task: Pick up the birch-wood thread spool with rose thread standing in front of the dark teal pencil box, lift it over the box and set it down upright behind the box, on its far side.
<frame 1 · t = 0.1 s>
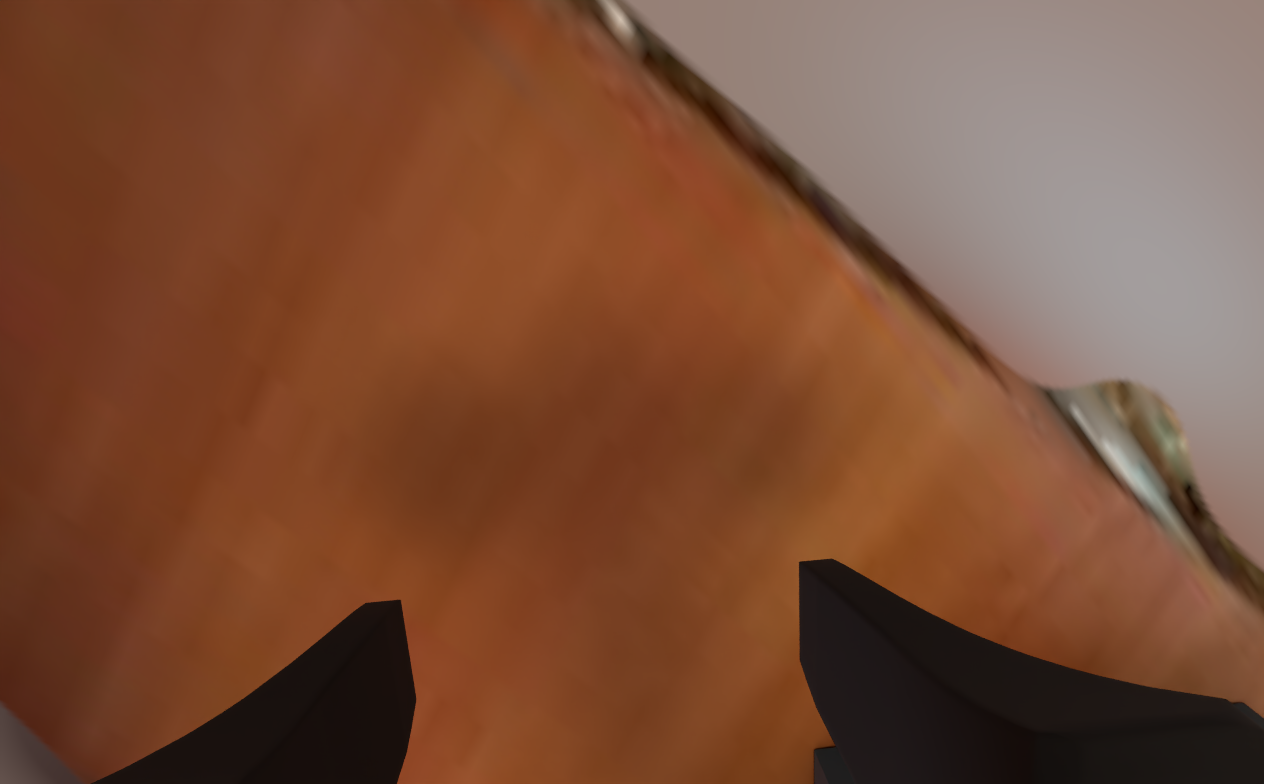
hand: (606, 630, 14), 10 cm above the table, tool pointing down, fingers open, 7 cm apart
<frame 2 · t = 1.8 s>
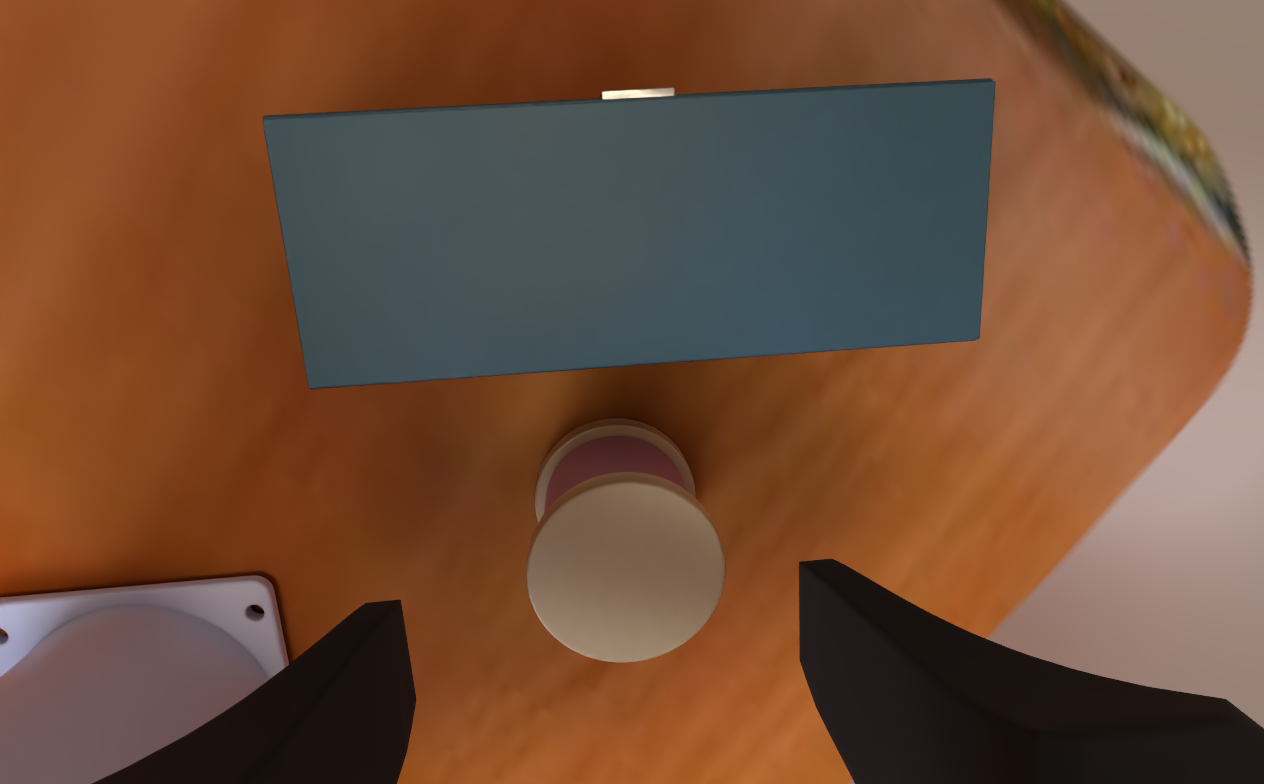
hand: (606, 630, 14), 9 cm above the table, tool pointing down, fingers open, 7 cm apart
spool: (614, 492, 22), on the table
pencil box: (634, 229, 20), on the table
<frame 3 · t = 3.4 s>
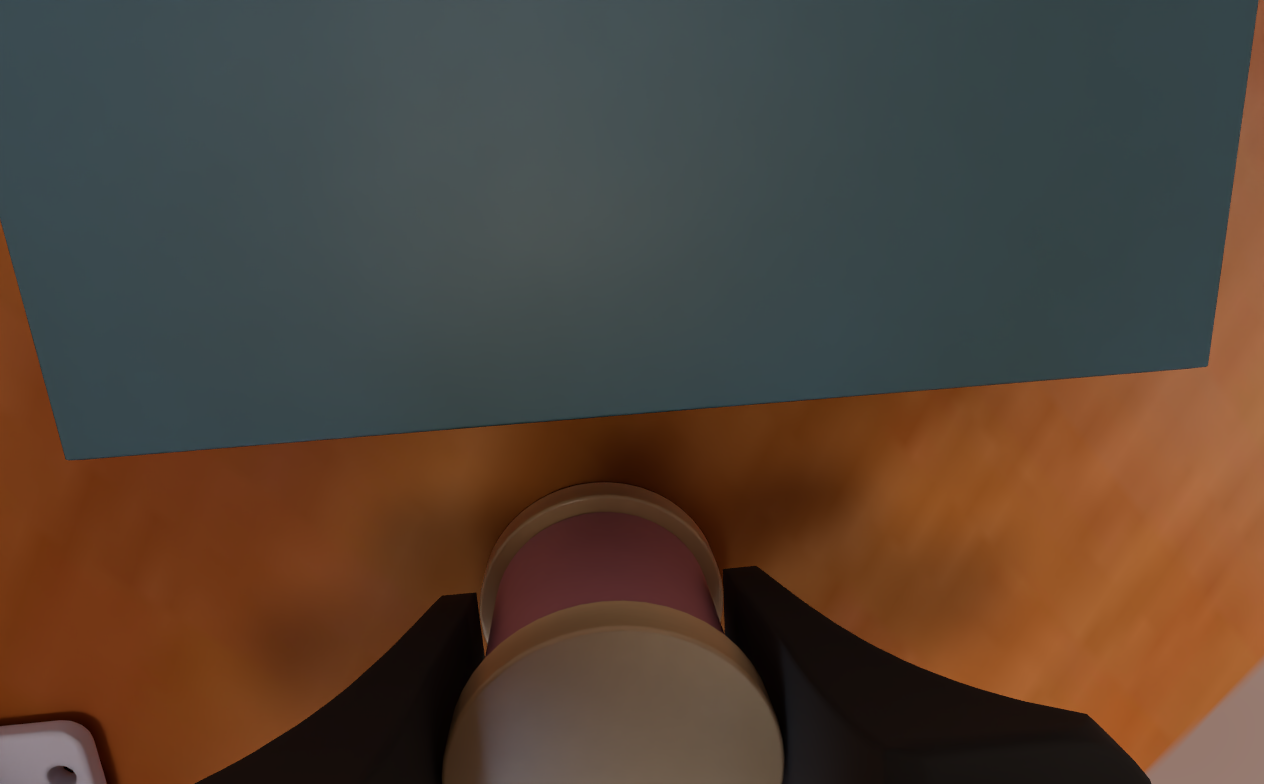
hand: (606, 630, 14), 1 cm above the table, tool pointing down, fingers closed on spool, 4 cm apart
spool: (601, 590, 15), on the table, touching gripper
pencil box: (629, 193, 13), on the table
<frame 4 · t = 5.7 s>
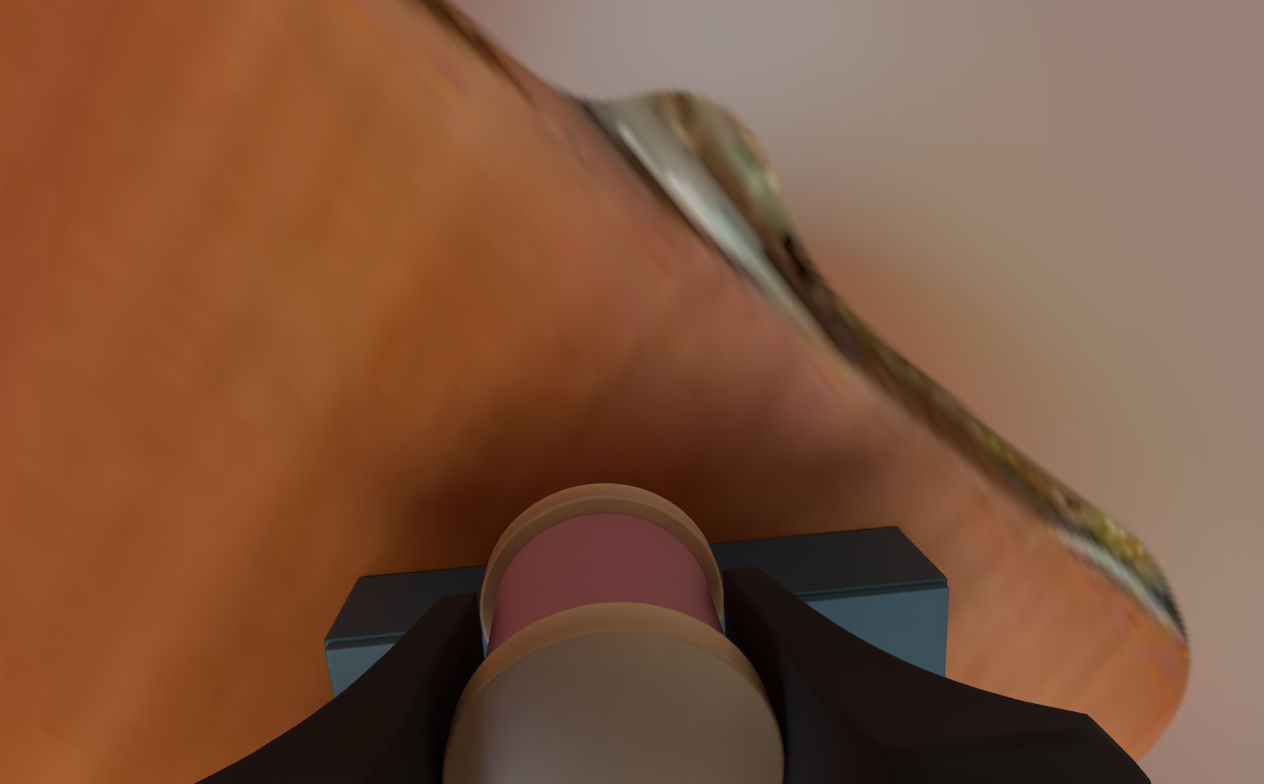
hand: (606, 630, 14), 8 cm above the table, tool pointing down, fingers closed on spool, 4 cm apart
spool: (601, 591, 15), point 7 cm above the table, touching gripper
pencil box: (639, 640, 23), on the table
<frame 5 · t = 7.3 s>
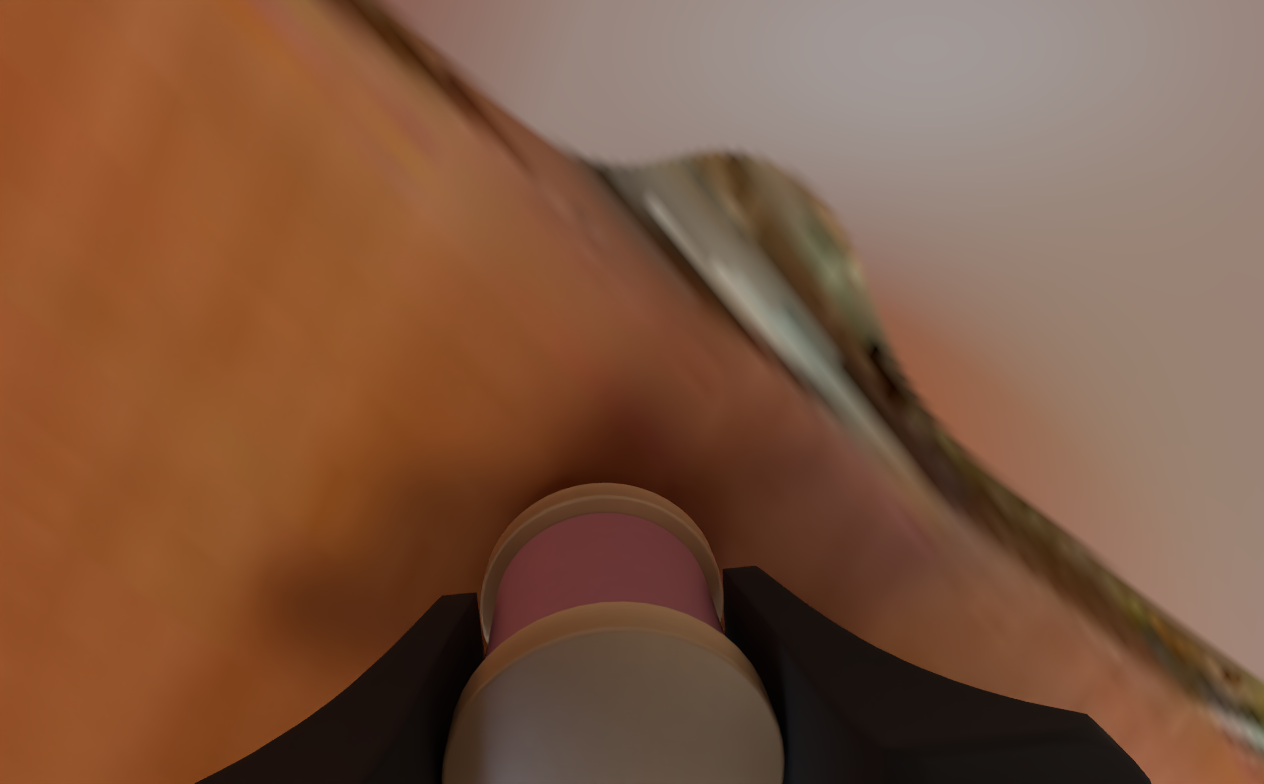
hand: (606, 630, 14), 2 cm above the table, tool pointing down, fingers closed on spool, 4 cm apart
spool: (601, 590, 15), point 1 cm above the table, touching gripper
when the fingers open (1 cm above the table, at t = 8.0 s): spool stays where it is, on the table.
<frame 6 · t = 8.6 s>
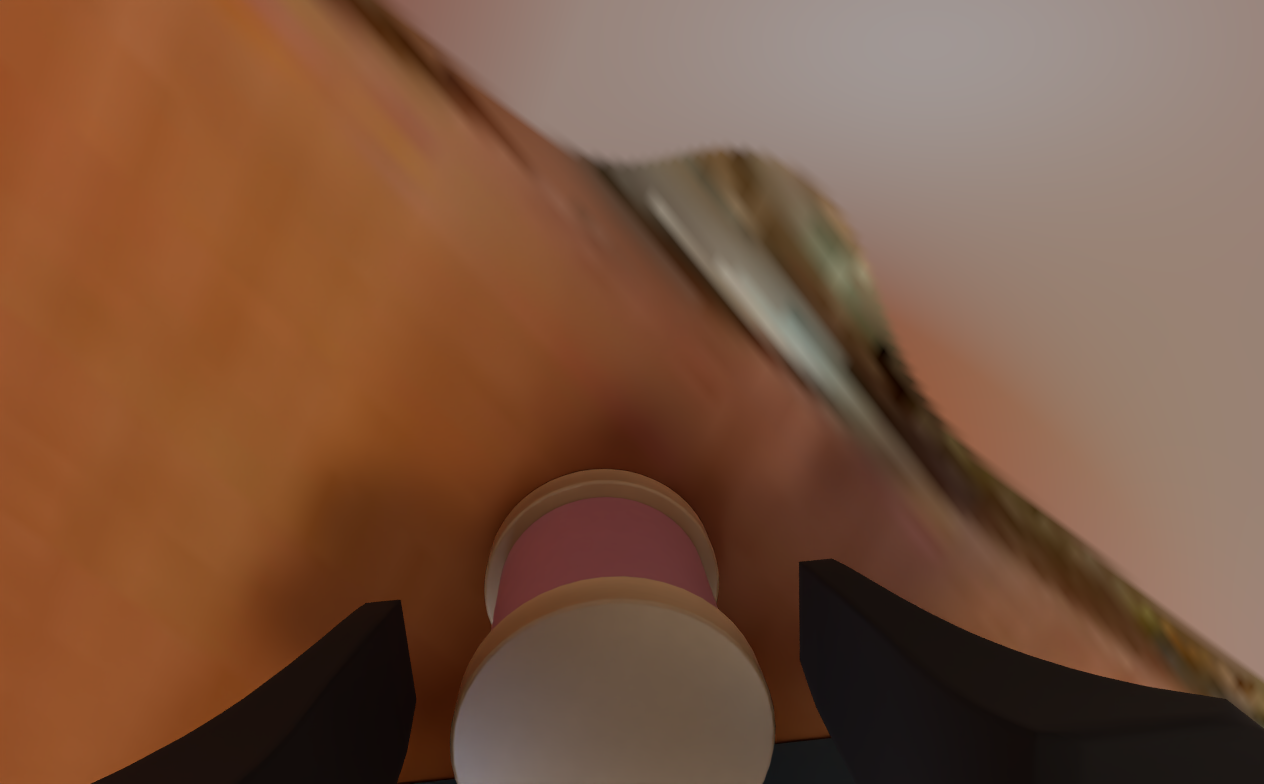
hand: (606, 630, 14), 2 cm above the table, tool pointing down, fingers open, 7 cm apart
spool: (601, 573, 15), on the table
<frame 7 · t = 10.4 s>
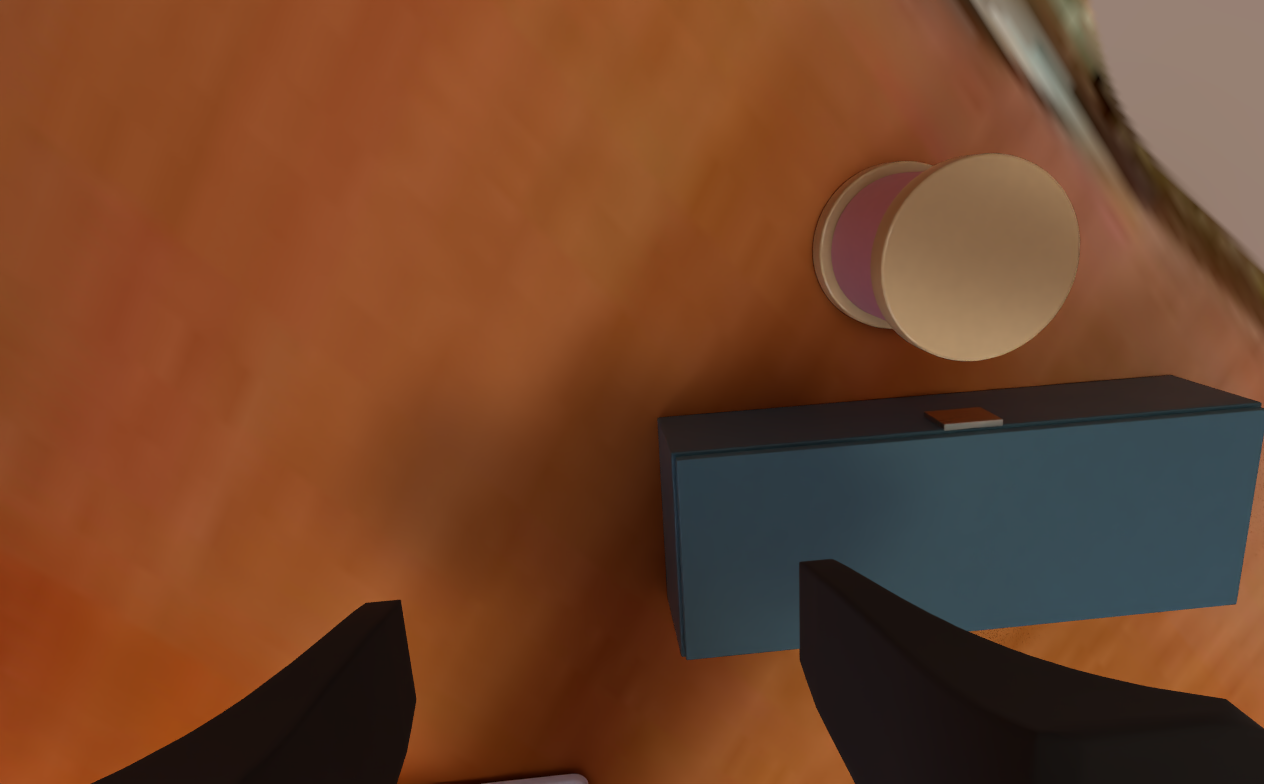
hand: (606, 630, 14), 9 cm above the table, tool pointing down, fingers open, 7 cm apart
spool: (890, 245, 22), on the table
pencil box: (916, 487, 24), on the table
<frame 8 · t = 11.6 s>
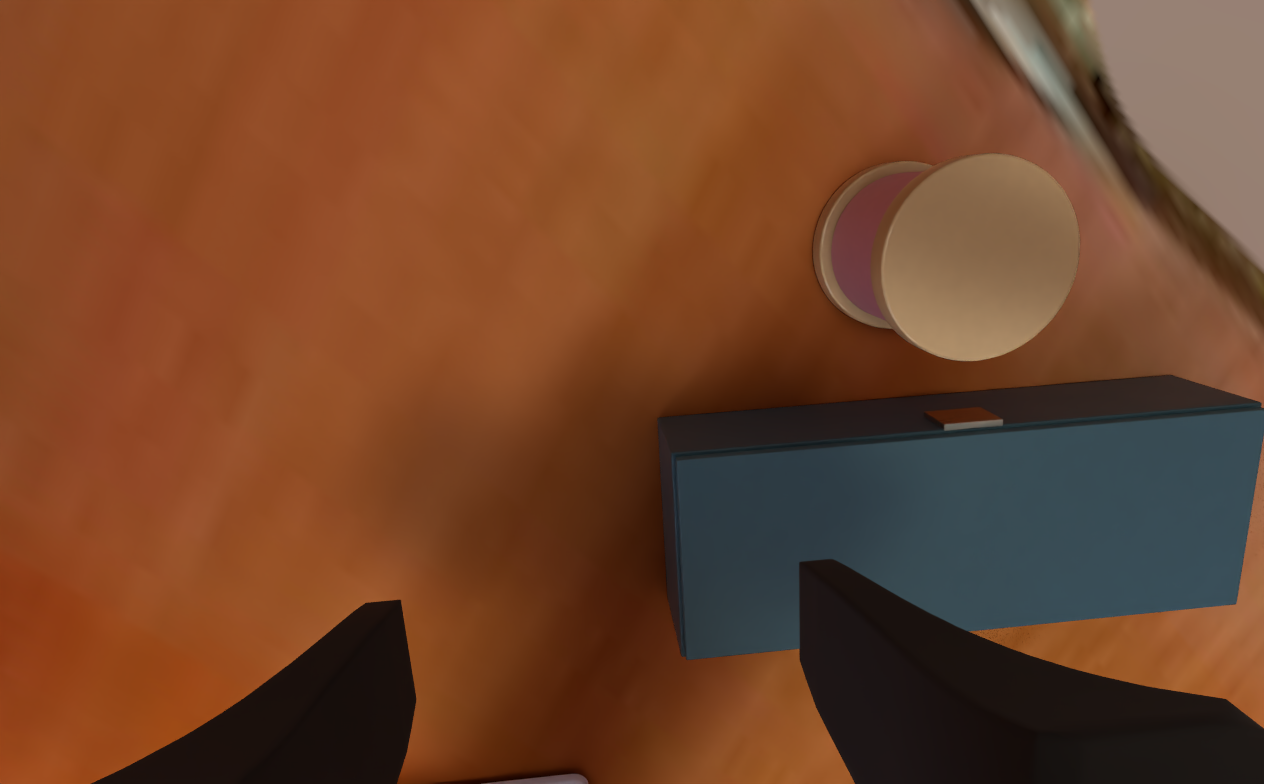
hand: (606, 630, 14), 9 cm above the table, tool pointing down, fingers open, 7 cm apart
spool: (890, 245, 22), on the table
pencil box: (916, 487, 24), on the table
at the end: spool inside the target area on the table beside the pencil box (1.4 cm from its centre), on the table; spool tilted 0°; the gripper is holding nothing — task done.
